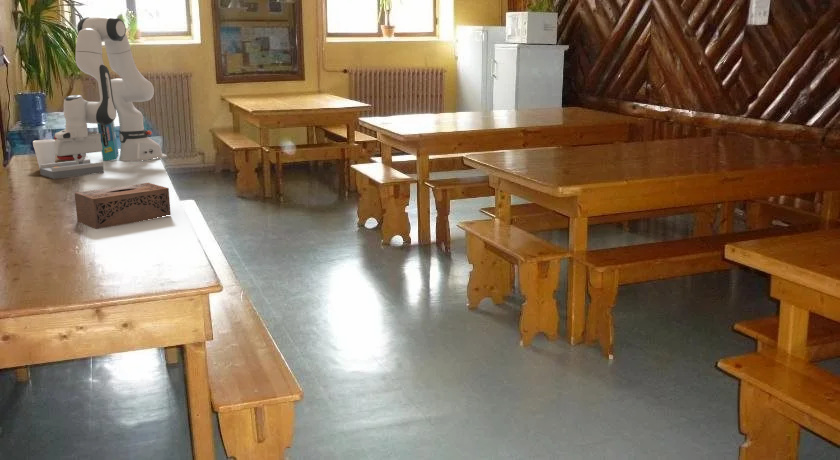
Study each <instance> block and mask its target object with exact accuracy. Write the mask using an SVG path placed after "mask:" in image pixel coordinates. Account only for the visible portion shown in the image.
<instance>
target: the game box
mask: <svg viewBox="0 0 840 460" xmlns="http://www.w3.org/2000/svg"><path fill="white" fill-rule="evenodd" d="M98 102H100V100H99V101H98ZM97 132H99V133H100V134H101V143H102V151H101V157H102V162H106V161H115V160H117V158H118V156H119V155H120V152H119V146H118V141H117V134H116V128H115V120H114V121H113V122H112V123H111V124H109V125H104V124H97Z"/></svg>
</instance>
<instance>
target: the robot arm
mask: <svg viewBox="0 0 840 460" xmlns="http://www.w3.org/2000/svg"><path fill="white" fill-rule="evenodd" d="M76 26H77V27H76V31H77V34H78V35H77V38H76V43H75V65H76V66H77V68H78V69H79V70H80V71H81V72H83V73H84V74H86V75H88V76H91V77H93V78H94V80H96V82H97V85H98V92H99V101H100V102H99V101H88V100H86V99H84V98H83V96H82V95H81V94H73V95H68V96H66V97H64V99H63V116H64V119H65V125H64V126H65V127H64V129H62V130H60V131H57V132H55V133H54V136H55V138H57V139H56V140H55V142H54V153H55V154H56V155H55V156H56V157H57V156H66V155H73V157H74V159H75V160H74V161H76V164H84V160H86V158H87V154H92V153H102V143H101V134H100V133H99V132H98V130H96V131H95V130H94V131H89V130H88V124H94V125H95V124H104V125H109V124H111V123H112V122H113V121H114V122H115V119H116V118H117V116H118V123H119V131H118V133H119V135H118V137H119V142H120V150H119V151H120V152H119V159H118V160H119V161H123V162H124V161H125V162H143V161H142V160H147V161H149V160H148V159H153V158H157V157H158V158H159V159H165V158H168V156H167V154H165V153H163V152H162V148H161V145H160V144H159V143H158V142H156V141H155V140H153V139H152V138H151V137H149V136H151V135H152V133H153V131H151V130H146V129H145V127H144V117H143V116H144V115H143V113H142V112H141V111H140V110H138V108H136V106H135V105H134V103H141V102H142V103H143V102H147V101H150V100H152V98H153V97H154V94H155V87H154V84H152V82H151V81H150V80H148V79H147V78H145V77H144V76H143V75H142V73H141V72H140V71H139V69H138V67H137V65H136V63H135V59H134V57H133V53H132V47H131V45H130V42H129V39H128V36H127V34H126V32H127V30H126V29H127V28H126V24H125V22H124V21H123V20H122V19H121V18H120V17H116V16H106V15H105V16H103V15H101V16H92V17H83V18H81V19H79V21H78V23H77V25H76ZM103 43H104V47H105V48H104V49H105V52H106V55H107V60H108V63H109V67H110V70H111V71H113V72H114V73H115V74H117V75H118V76H119V77H120V78H111V74H110V71H109V68H108V67H107V66H106V65H105V64H104V59H103ZM133 102H134V103H133ZM78 154H81V156H82V158H81V159H78V158H77V157H78ZM153 160H154V159H153Z"/></svg>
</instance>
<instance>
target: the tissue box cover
mask: <svg viewBox="0 0 840 460" xmlns="http://www.w3.org/2000/svg"><path fill="white" fill-rule="evenodd" d="M74 202H75V209H76V210H75V211H76V221H77V223H79V224H82V225H85V226H87V227H90V228H92V229H94V230H98V229H104V228H109V227H110V228H111V227H116V226H120V225H128V224H133V223H134V222H135V223H138V222H139V221H140V222H144V221H143V220H146V221H149V220H148V219H152V220H154V219H153V218H157V217H162V216H166V215H172V214H171V204H170V203H171V201H170V189H169V187H166V186H162V185H159V184H155V183H151V182H145V183H144V182H143V183H138V184H137V183H135V184H130V185H129V184H128V185H123V186H122V185H121V186H115V187H113V186H112V187H106V188H99V189H93V190H91V189H90V190H85V191H84V190H83V191H77V192H74ZM140 222H139V223H140ZM135 223H134V224H135Z"/></svg>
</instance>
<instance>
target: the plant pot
mask: <svg viewBox="0 0 840 460" xmlns="http://www.w3.org/2000/svg"><path fill="white" fill-rule="evenodd" d="M53 137H54V138H53V140H56V139H57V138H55V135H54V136H53ZM56 157H57V159H58V160H60V161H63V162H67V161H76V160H75V159H74V157H73V155H66V156H57V155H56ZM77 158H78V160H81V158H82V156H81V154H78V157H77Z"/></svg>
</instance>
